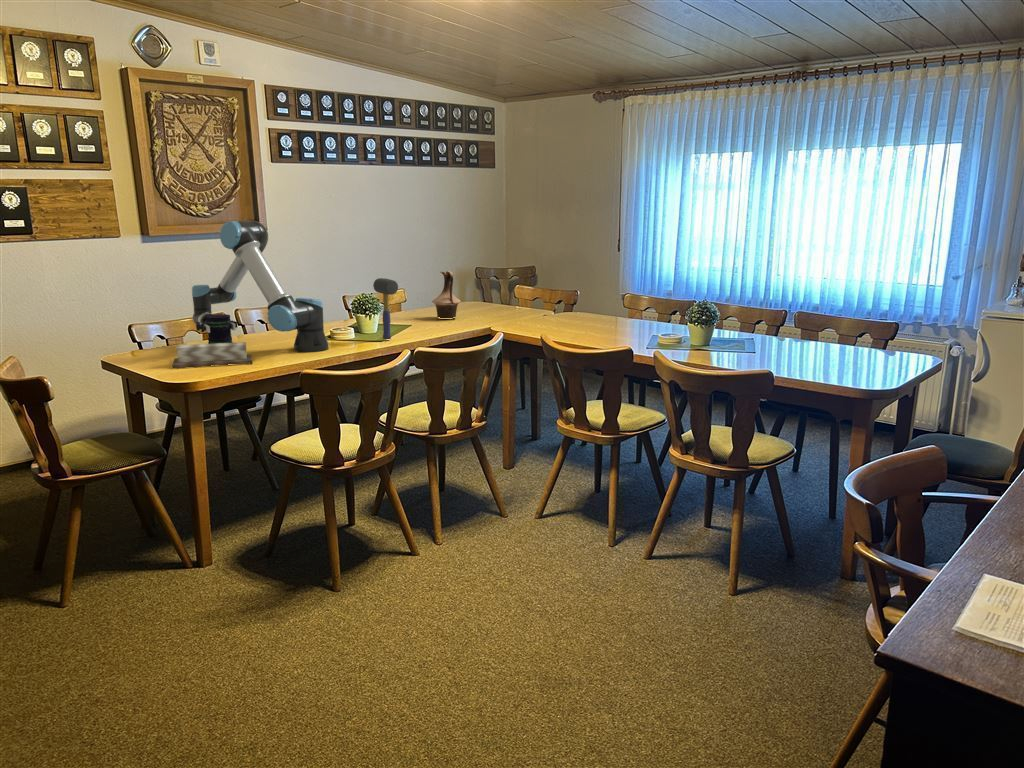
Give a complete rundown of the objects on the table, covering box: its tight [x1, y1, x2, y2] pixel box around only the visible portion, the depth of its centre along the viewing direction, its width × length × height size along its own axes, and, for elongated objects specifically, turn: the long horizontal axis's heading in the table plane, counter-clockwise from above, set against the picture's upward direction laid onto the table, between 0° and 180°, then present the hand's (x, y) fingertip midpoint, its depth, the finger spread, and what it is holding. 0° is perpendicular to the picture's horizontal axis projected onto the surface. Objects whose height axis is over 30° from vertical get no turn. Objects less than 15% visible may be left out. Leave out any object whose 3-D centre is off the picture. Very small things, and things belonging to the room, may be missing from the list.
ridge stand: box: [171, 341, 253, 369], centre depth 299 cm, size 30×14×8 cm, turn 111°
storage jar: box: [206, 313, 234, 344], centre depth 316 cm, size 10×10×15 cm
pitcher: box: [431, 270, 462, 318], centre depth 421 cm, size 18×17×28 cm
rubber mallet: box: [372, 277, 399, 340], centre depth 352 cm, size 12×8×30 cm, turn 42°
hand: (221, 328), depth 312 cm, fingers closed on storage jar, 10 cm apart
